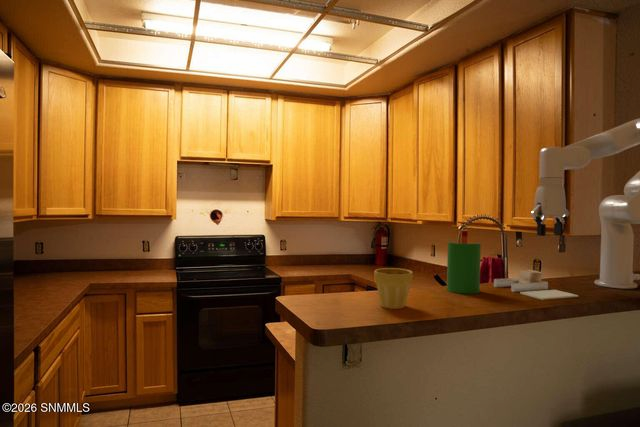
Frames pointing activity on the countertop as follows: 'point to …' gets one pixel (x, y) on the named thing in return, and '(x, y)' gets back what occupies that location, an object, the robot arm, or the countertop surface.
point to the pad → (548, 294)
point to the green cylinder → (463, 266)
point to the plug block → (530, 276)
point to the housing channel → (520, 285)
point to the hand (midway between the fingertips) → (549, 235)
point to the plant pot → (393, 286)
